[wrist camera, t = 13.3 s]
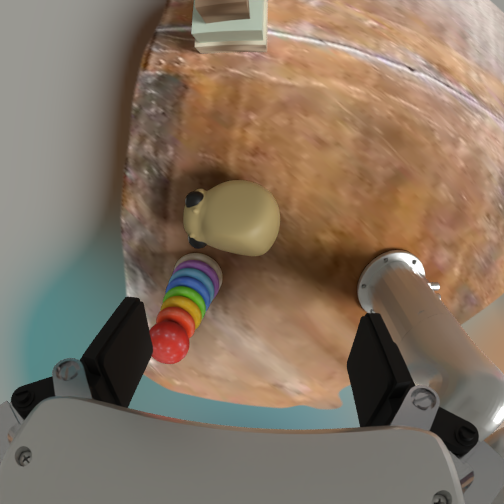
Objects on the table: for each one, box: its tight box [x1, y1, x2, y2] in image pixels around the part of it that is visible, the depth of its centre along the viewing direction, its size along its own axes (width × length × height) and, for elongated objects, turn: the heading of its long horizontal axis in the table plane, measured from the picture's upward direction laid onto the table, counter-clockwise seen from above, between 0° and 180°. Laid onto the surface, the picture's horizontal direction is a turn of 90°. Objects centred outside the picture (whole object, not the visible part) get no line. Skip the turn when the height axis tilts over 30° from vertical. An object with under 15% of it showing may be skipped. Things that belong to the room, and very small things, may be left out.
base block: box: [195, 0, 268, 54], centre depth 28 cm, size 9×9×4 cm
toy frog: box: [183, 180, 280, 256], centre depth 36 cm, size 10×12×11 cm
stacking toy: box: [149, 253, 222, 364], centre depth 37 cm, size 8×8×19 cm
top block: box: [191, 0, 264, 43], centre depth 24 cm, size 8×8×4 cm
